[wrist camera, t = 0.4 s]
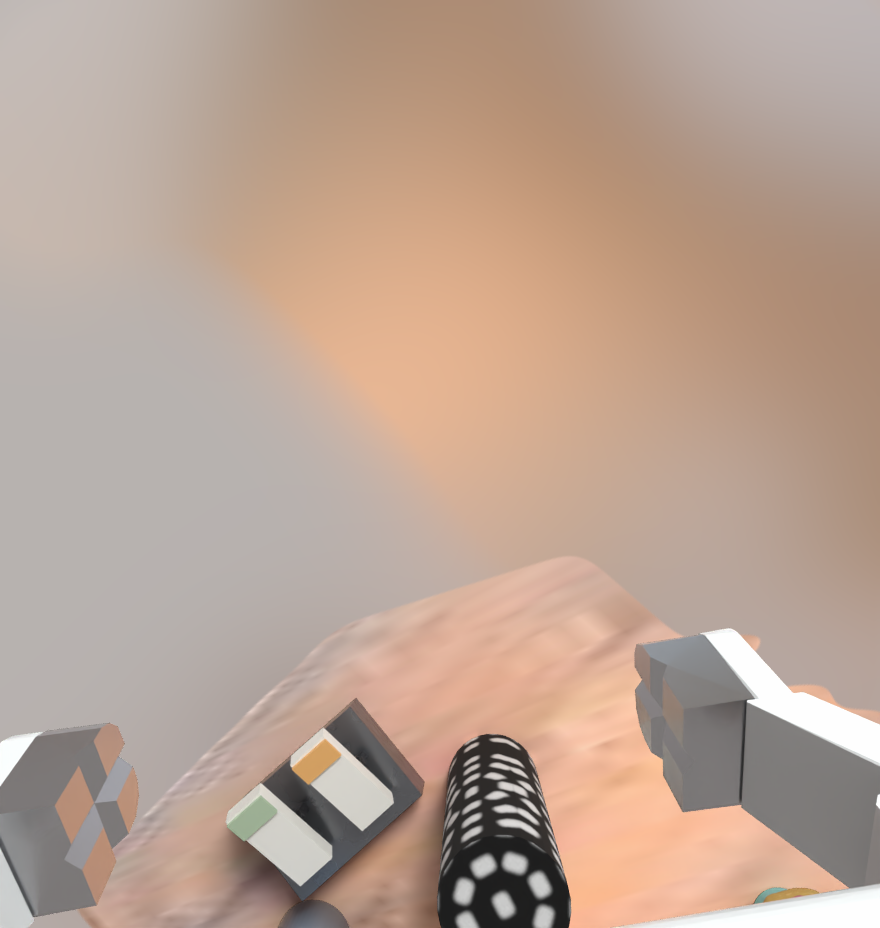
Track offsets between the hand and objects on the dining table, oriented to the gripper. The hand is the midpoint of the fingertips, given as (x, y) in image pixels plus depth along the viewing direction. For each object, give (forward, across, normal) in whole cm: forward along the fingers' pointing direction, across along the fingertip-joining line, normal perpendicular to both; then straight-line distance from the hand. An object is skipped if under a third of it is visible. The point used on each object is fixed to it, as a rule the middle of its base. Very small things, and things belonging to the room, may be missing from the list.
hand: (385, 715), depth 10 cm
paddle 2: (+35, -9, -36) cm, 51 cm away
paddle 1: (+34, -15, -39) cm, 54 cm away
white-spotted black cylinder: (+38, +4, -41) cm, 56 cm away
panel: (+39, -11, -40) cm, 58 cm away
